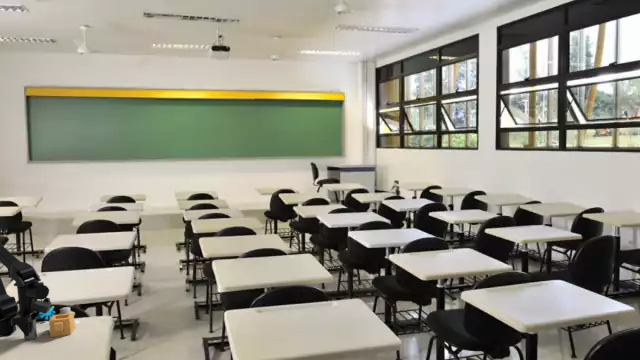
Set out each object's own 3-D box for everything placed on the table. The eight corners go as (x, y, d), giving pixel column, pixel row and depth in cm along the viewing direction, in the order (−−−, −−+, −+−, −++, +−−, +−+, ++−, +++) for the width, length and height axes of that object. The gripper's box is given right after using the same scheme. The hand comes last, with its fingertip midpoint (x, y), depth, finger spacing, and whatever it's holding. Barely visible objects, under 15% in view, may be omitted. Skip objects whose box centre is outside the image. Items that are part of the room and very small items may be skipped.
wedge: (24, 340, 203) (22, 322, 202) (26, 338, 205) (24, 319, 205) (34, 339, 204) (33, 320, 203) (37, 337, 206) (35, 318, 205)
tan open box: (48, 338, 204) (46, 319, 203) (59, 325, 218) (58, 306, 217) (69, 336, 205) (67, 317, 204) (78, 323, 219) (77, 304, 218)
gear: (44, 320, 219) (30, 304, 221) (36, 329, 220) (22, 313, 221) (62, 314, 230) (48, 298, 232) (54, 323, 231) (40, 307, 232)
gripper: (39, 302, 195) (43, 340, 197) (55, 287, 213) (58, 322, 215) (8, 305, 193) (12, 343, 195) (26, 289, 211) (30, 324, 213)
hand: (30, 332), depth 204 cm, fingers open, 6 cm apart
